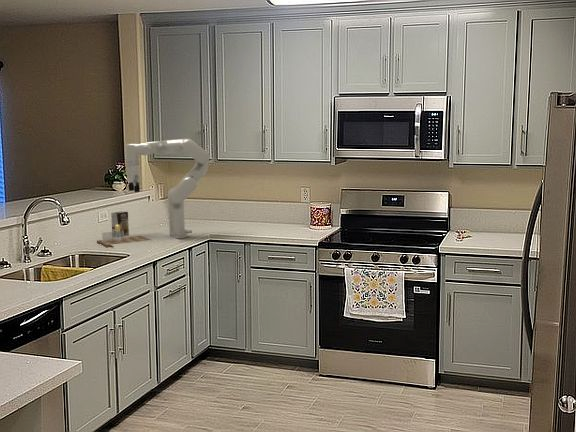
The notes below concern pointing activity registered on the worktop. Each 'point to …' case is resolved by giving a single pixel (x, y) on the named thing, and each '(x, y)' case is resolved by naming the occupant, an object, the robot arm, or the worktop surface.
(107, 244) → the walnut board
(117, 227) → the brass pin
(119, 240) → the clear container
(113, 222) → the coffee box
